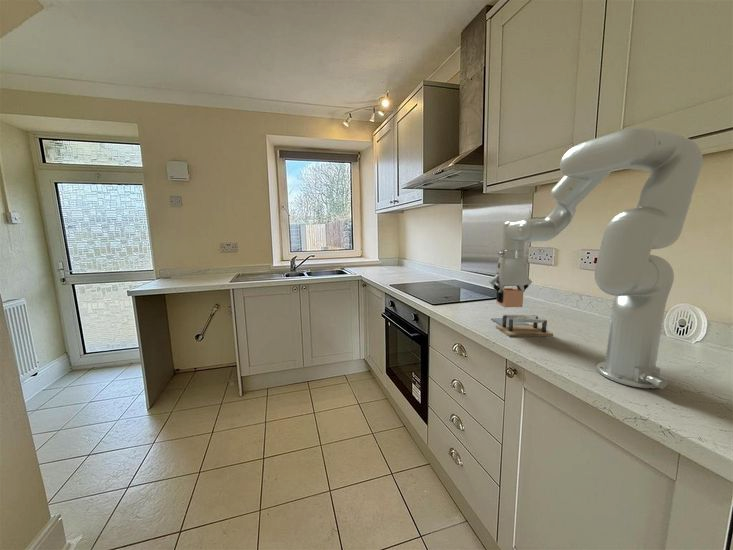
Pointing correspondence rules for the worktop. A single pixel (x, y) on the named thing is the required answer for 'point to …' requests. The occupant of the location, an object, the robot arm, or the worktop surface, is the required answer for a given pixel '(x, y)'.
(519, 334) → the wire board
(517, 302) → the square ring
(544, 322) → the grey small table
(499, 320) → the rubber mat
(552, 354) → the worktop surface
